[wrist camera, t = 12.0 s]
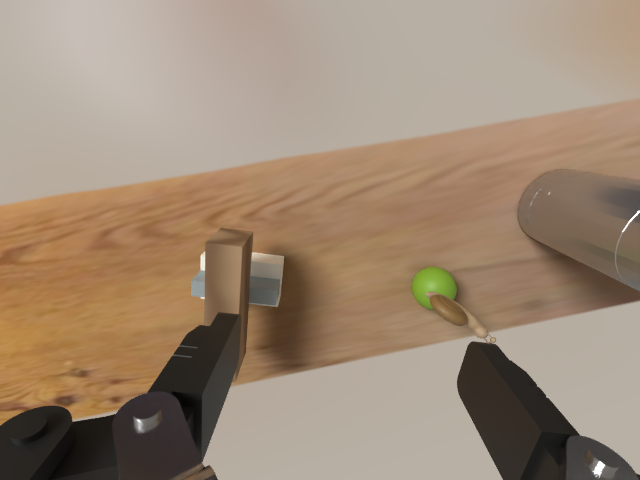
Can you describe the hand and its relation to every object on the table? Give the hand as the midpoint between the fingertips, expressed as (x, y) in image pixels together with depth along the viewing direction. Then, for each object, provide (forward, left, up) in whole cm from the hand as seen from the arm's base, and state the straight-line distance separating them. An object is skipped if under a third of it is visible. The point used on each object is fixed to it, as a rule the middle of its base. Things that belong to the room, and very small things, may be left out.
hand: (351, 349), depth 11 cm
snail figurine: (-15, +10, -30) cm, 35 cm away
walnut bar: (+10, +12, -24) cm, 29 cm away
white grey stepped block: (+10, +12, -30) cm, 34 cm away
